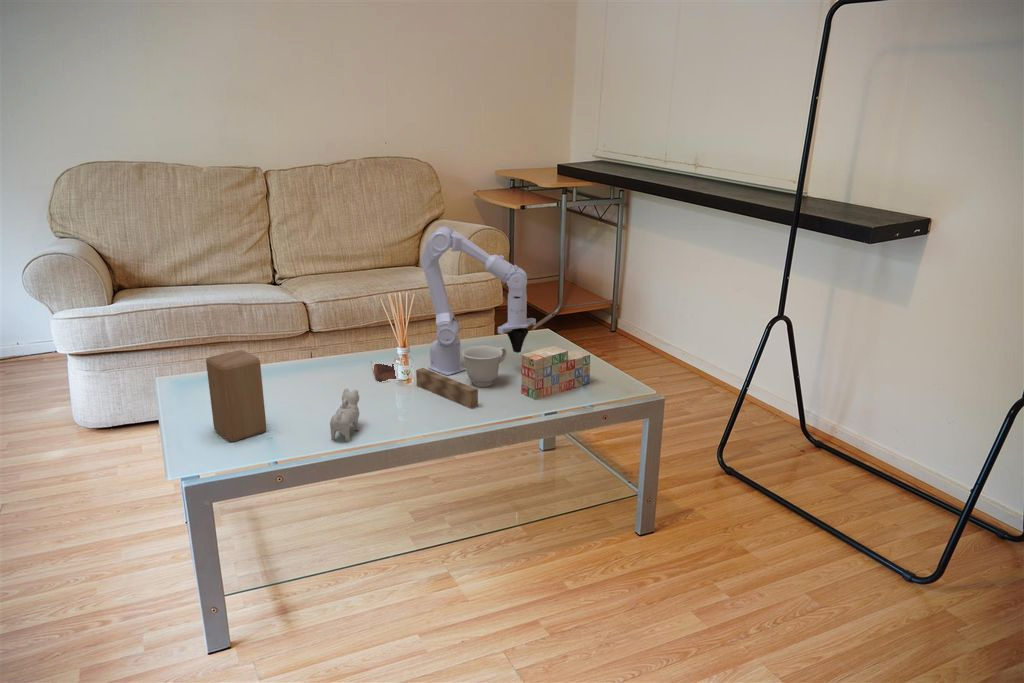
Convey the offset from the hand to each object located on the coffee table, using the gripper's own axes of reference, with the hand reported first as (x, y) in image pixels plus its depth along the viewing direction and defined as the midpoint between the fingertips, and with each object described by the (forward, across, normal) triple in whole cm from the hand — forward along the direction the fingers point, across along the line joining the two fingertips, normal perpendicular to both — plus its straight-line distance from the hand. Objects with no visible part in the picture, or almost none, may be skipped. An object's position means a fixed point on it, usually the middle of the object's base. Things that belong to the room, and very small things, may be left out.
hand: (517, 351), depth 239 cm
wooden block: (+6, -82, +17) cm, 84 cm away
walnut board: (+6, -29, 0) cm, 30 cm away
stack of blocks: (+7, -2, -18) cm, 19 cm away
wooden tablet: (+7, -26, +31) cm, 41 cm away
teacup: (+7, -13, 0) cm, 15 cm away
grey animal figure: (+6, -63, -2) cm, 64 cm away
